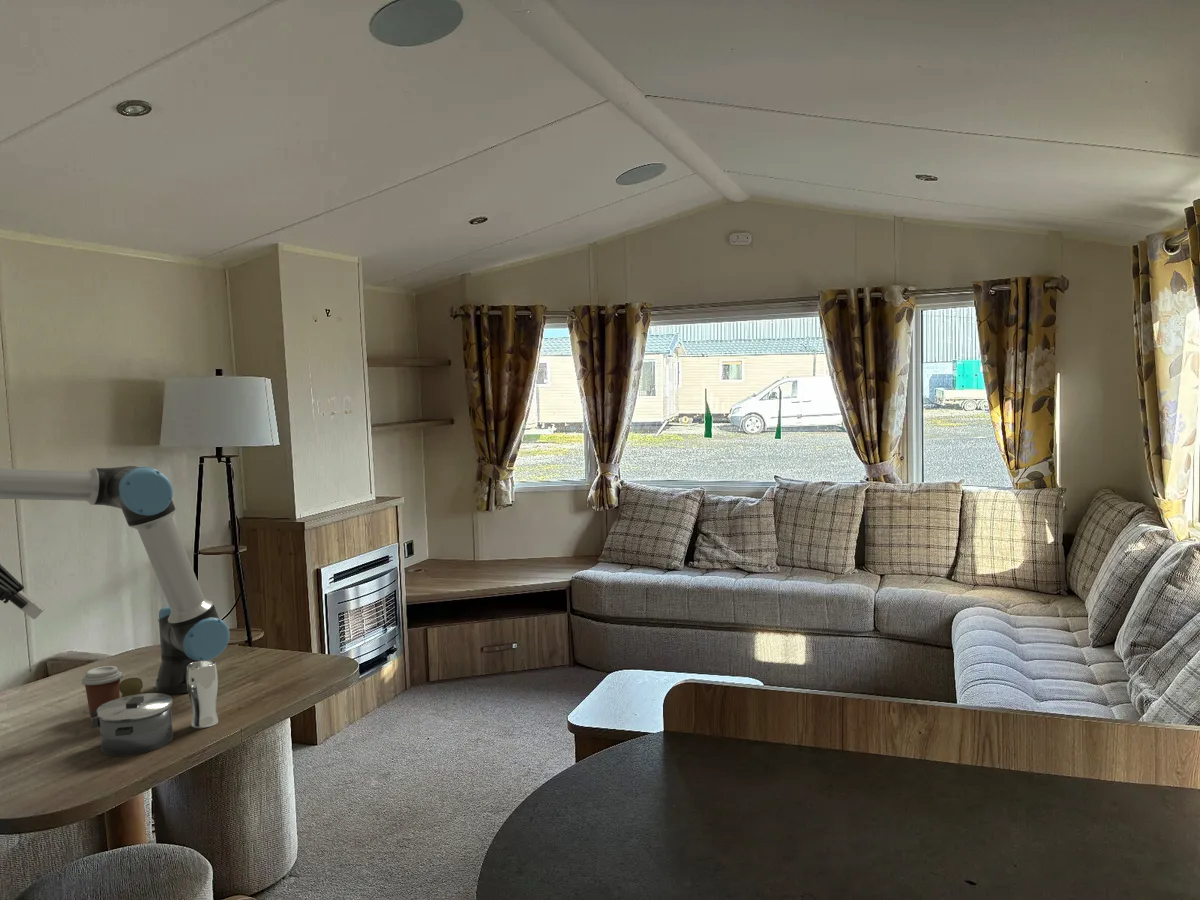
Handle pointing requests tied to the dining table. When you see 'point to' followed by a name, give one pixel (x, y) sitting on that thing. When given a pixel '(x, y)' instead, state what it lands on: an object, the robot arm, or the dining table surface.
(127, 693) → the cork
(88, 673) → the coffee cup
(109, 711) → the lid
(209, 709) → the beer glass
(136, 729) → the cooker pot
